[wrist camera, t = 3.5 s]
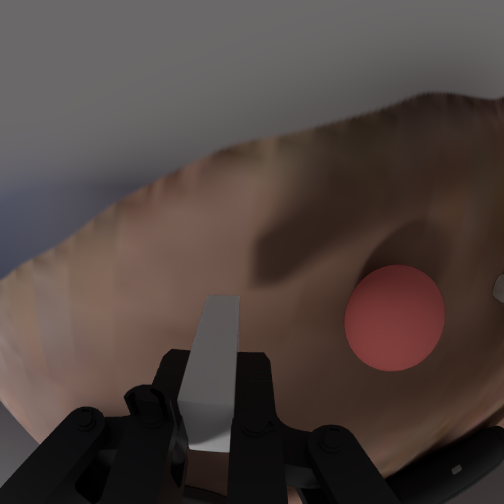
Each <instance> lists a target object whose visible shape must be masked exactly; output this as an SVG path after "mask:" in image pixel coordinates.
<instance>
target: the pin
mask: <svg viewBox="0 0 504 504" xmlns="http://www.w3.org/2000/svg"><path fill="white" fill-rule="evenodd" d="M493 297H494V298H496V299H497V300H499V301H500V302H502V303H503V304H504V274H501V275H500V276H499V277H498V279H497V280H496V282H495V285H494V288H493Z"/></svg>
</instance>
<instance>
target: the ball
mask: <svg viewBox="0 0 504 504" xmlns="http://www.w3.org/2000/svg"><path fill="white" fill-rule="evenodd" d="M444 323H445V306H444V301H443V298H442V295H441V293H440V291H439V289H438V287H437V285H436V284H435V283H434V281H433V280H432V279H431V278H430V277H429V276H428V275H426V274H425V273H424V272H422V271H420V270H418V269H416V268H414V267H410V266H407V265H389V266H385V267H382V268H379V269H377V270H375V271H373V272H371V273H370V274H368V275H367V276H366V277H365V278H363V279H362V280H361V281H360V282H359V284H358V285H357V286H356V287H355V289H354V290H353V292H352V294H351V296H350V298H349V300H348V303H347V306H346V310H345V316H344V327H345V333H346V337H347V340H348V343H349V345H350V347H351V349H352V350H353V352H354V353H355V354H356V356H357V357H358V358H359V359H360V360H362V361H363V362H364V363H366V364H367V365H369V366H371V367H373V368H375V369H378V370H382V371H401V370H405V369H408V368H410V367H413V366H415V365H417V364H418V363H420V362H421V361H423V360H424V359H425V358H426V357H427V356H428V355H429V354H430V353H431V352H432V351H433V349H434V348H435V347H436V345H437V343H438V341H439V339H440V337H441V335H442V332H443V328H444Z"/></svg>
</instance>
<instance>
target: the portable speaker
mask: <svg viewBox="0 0 504 504" xmlns="http://www.w3.org/2000/svg"><path fill="white" fill-rule="evenodd" d="M503 460H504V428H502V427H500V426H493V427H489V428H486V429H483V430H481V431H480V432H478V433H477V434H475V435H474V436H472V437H471V438H469V439H468V440H466V441H465V442H463V443H462V444H460V445H458V446H457V447H455V448H453V449H452V450H450V451H448V452H447V453H445V454H443V455H441V456H440V457H438V458H436V459H434V460H432V461H430V462H429V463H427V464H425V465H423V466H421V467H419V468H417V469H414V470H412V471H410V472H408V473H406V474H404V475H401V476H399V477H397V478H394V479H392V480H389V481H387V484H388V485H389V487H390V488H391V489H392V491H393V492H394V494H395V495H396V496H397V498H398V499H399V501H400V502H401V503H402V504H445V503H447V502H449V501H450V500H452V499H454V498H455V497H457V496H459V495H460V494H462V493H463V492H465V491H466V490H468V489H469V488H471V487H472V486H474V485H475V484H476V483H478V482H479V481H480V480H482V479H483V478H485V477H486V476H487V475H489V474H490V473H491V472H492V471H494V470H495V469H496V468H497V467H498V466H499V465H500V464H501V462H502V461H503Z"/></svg>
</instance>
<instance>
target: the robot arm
mask: <svg viewBox="0 0 504 504" xmlns="http://www.w3.org/2000/svg"><path fill="white" fill-rule="evenodd" d="M239 327H240V296H226V295H207V299H206V302H205V305H204V308H203V312H202V315H201V318H200V322H199V325H198V328H197V332H196V335H195V339H194V342H193V345H192V349H191V350H179V349H171V350H170V351H169V352H168V353H166V354H165V355H164V356H163V358H162V360H161V363H160V365H159V368H158V370H157V373H156V375H155V378H154V380H153V383H152V385H140V386H136V387H134V388H132V389H130V390H129V391H128V392H127V393H126V394H125V396H124V399H125V402H126V404H127V406H128V409H129V411H130V414H131V415H128V416H122V417H104V416H103V414H102V413H101V412H100V411H99V410H98V409H96V408H93V407H80V408H77V409H75V410H74V411H72V412H71V413H70V414H69V415H68V416H67V417H66V418H65V419H64V420H63V421H62V422H61V423H60V424H59V425H58V426H57V427H56V428H55V430H54V431H53V432H52V433H51V434H50V435H49V436H48V437H47V438H46V439H45V440H44V441H43V442H42V443H41V444H40V445H39V446H38V448H37V449H36V450H35V451H34V452H33V453H32V454H31V455H30V456H29V457H28V458H27V459H26V460H25V462H24V463H23V464H22V465H21V466H20V467H19V468H18V469H17V470H16V471H15V472H14V474H13V475H12V476H11V477H10V478H9V479H8V480H7V481H6V482H5V483H4V485H3V486H2V487H1V488H0V504H288V497H287V487H286V485H288V486H294V487H295V488H296V490H297V492H298V494H299V496H300V499H301V501H302V503H303V504H402V503H401V502H400V501H399V499H398V498H397V496H396V495H395V494H394V492H393V491H392V489H391V488H390V487H389V485H388V484H387V482H386V481H385V480H384V478H383V477H382V475H381V474H380V473H379V471H378V470H377V468H376V467H375V465H374V464H373V463H372V461H371V460H370V458H369V457H368V455H367V454H366V453H365V451H364V450H363V448H362V447H361V445H360V444H359V442H358V441H357V440H356V438H355V437H354V435H353V434H352V433H351V432H350V431H349V430H348V429H346V428H344V427H342V426H339V425H324V426H321V427H319V428H317V429H315V430H314V431H313V432H308V431H302V430H297V429H294V428H290V427H289V426H287V425H285V424H284V423H282V422H281V421H280V420H279V418H278V417H277V414H276V411H275V401H274V392H273V382H272V373H271V364H270V360H269V359H268V357H267V356H266V355H265V353H264V352H239ZM188 444H189V448H190V449H192V450H202V451H214V452H229V468H228V487H227V498H226V497H223V496H221V495H218V494H215V493H212V492H208V491H204V490H200V489H196V488H191V487H186V486H184V485H185V478H186V472H187V466H188V458H187V455H186V452H187V446H188Z"/></svg>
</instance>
